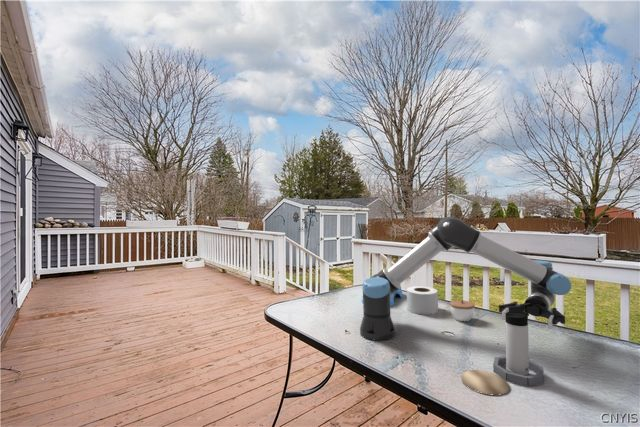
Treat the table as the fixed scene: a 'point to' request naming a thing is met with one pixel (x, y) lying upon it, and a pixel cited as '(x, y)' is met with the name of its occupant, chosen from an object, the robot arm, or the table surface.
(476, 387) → the coaster
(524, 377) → the collar
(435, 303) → the toilet paper roll
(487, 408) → the table surface
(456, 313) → the lidded jar
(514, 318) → the travel mug
